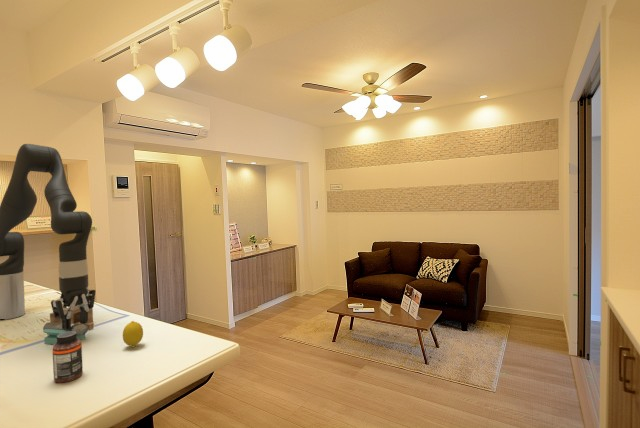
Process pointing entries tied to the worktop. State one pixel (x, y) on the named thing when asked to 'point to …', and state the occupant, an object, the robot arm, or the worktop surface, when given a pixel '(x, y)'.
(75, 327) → the axle
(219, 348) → the worktop surface
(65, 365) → the supplement bottle
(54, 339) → the v block
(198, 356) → the worktop surface
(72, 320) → the brown wooden block
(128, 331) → the lemon
